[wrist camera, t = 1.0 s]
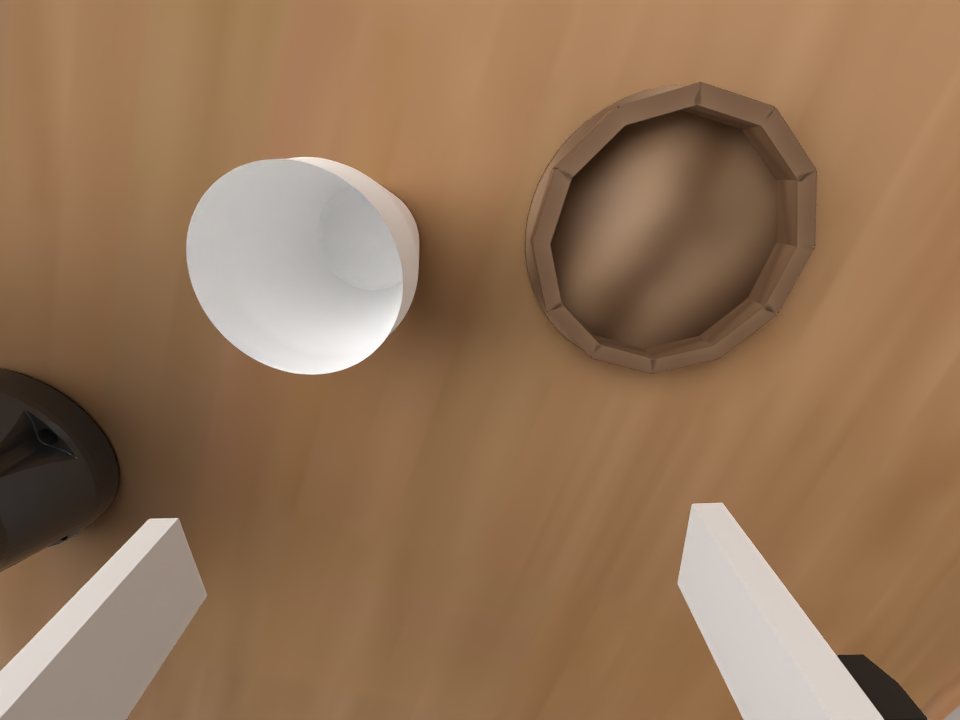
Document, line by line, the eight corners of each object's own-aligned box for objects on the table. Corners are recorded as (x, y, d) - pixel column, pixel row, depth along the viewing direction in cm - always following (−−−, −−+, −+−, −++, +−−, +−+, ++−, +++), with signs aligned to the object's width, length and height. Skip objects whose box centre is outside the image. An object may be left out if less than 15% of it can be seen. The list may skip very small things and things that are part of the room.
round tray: (493, 326, 31) (494, 339, 28) (578, 47, 25) (588, 31, 22) (716, 385, 33) (736, 403, 30) (848, 136, 26) (888, 132, 24)
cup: (327, 135, 27) (214, 104, 16) (461, 208, 28) (444, 227, 17) (281, 268, 30) (159, 321, 19) (404, 328, 31) (358, 410, 20)
